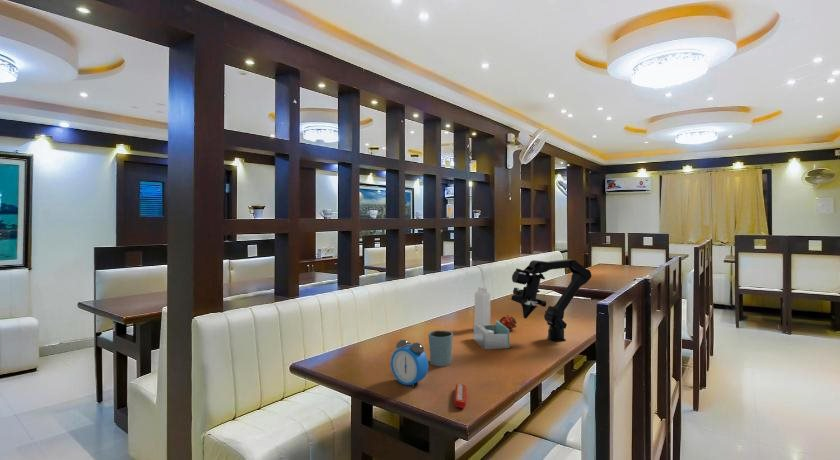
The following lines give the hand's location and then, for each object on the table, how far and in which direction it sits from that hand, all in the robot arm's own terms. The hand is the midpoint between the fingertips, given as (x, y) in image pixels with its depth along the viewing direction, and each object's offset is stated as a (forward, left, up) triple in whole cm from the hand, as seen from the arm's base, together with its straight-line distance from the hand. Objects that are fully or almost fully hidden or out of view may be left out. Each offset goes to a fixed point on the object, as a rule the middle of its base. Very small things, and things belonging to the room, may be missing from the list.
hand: (524, 318), depth 195 cm
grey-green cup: (+45, +22, -11) cm, 52 cm away
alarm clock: (+60, +41, -11) cm, 74 cm away
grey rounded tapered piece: (+18, 0, -10) cm, 21 cm away
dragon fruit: (+1, -20, -11) cm, 23 cm away
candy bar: (+46, +57, -12) cm, 74 cm away
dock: (+17, 0, -11) cm, 21 cm away
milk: (+13, -25, -11) cm, 31 cm away
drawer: (+17, 0, -11) cm, 21 cm away
